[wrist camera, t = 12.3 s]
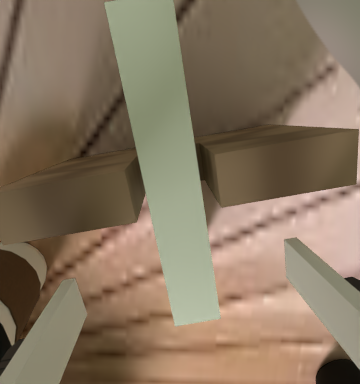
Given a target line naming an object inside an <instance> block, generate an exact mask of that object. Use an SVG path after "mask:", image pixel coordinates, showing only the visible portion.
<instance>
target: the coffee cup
mask: <svg viewBox="0 0 360 384" xmlns="http://www.w3.org/2000/svg"><path fill="white" fill-rule="evenodd" d="M46 272H47V265H46V262H45V259H44V256H43V255H42V254H41V253H40V252H39V251H38V249H37V248H35V247H33V246H31V245H30V244H28V243H25V242H21V243H15V244H9V245H3V244H2V242H1V243H0V362H1V359H2V358H3V356H4V355H5V353H6V352H7V350H8V349H9V348H10V347H11V346H12V345H14V344H15V343H16V342H17V341H18V340H19V338H20V336H21V334H22V332H23V330H24V328H25V326H26V324H27V321H28V319H29V317H30V315H31V313H32V311H33V309H34V307H35V305H36V303H37V301H38V298H39V296H40V290H41V288H42V286H43V284H44V282H45V280H46Z"/></svg>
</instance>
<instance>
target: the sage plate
mask: <svg viewBox="0 0 360 384" xmlns="http://www.w3.org/2000/svg"><path fill="white" fill-rule="evenodd" d="M104 5H105V9H106V14H107V18H108V23H109V27H110V32H111V37H112V41H113V46H114V50H115V55H116V59H117V64H118V68H119V73H120V78H121V82H122V87H123V91H124V96H125V100H126V105H127V110H128V114H129V119H130V123H131V128H132V132H133V137H134V141H135V146H136V151H137V155H138V160H139V164H140V169H141V173H142V178H143V182H144V187H145V192H146V196H147V201H148V205H149V210H150V214H151V219H152V223H153V228H154V233H155V237H156V242H157V246H158V251H159V255H160V260H161V265H162V269H163V274H164V278H165V283H166V287H167V292H168V296H169V301H170V306H171V310H172V315H173V319H174V324H175V326H180V325H186V324H192V323H198V322H204V321H210V320H215V319H221V317H220V311H219V304H218V297H217V290H216V284H215V277H214V270H213V264H212V257H211V250H210V243H209V237H208V230H207V223H206V216H205V210H204V203H203V196H202V190H201V183H200V176H199V169H198V163H197V156H196V149H195V142H194V136H193V129H192V122H191V116H190V109H189V102H188V95H187V89H186V82H185V75H184V68H183V62H182V55H181V48H180V42H179V35H178V28H177V21H176V15H175V8H174V1H173V0H115V1H109V2H104Z"/></svg>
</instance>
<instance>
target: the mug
mask: <svg viewBox="0 0 360 384" xmlns="http://www.w3.org/2000/svg"><path fill="white" fill-rule="evenodd" d="M316 384H360V370H359V368H358V367H357V366H356V365H355V363H354V362H353V361H350V360H335V361H332V362H330V363H328V364H326V365H325V366H323V367H322V368H321V369H320V371H319V372H318V374H317V377H316Z"/></svg>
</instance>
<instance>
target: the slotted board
mask: <svg viewBox="0 0 360 384" xmlns="http://www.w3.org/2000/svg"><path fill="white" fill-rule="evenodd" d="M358 136H359V129H343V128H324V127H305V126H286V125H263V126H257V127H252V128H246V129H240V130H235V131H229V132H223V133H218V134H212V135H206V136H200V137H195V138H194V142H195V149H196V156H197V163H198V169H199V176H200V181H202V180H205V181H206V183H207V184H208V186H209V188H210V189H211V191H212V193H213V194H214V196H215V198H216V200H217V201H218V203H219V205H220V206H221V208H223V207H228V206H234V205H240V204H246V203H251V202H257V201H263V200H269V199H274V198H280V197H286V196H292V195H297V194H303V193H309V192H315V191H320V190H326V189H332V188H338V187H344V186H349V185H355V184H356V180H357V158H358ZM145 194H146V192H145V187H144V182H143V178H142V173H141V169H140V164H139V160H138V155H137V151H136V148H132V149H126V150H121V151H115V152H109V153H103V154H98V155H92V156H86V157H81V158H75V159H70V160H67V161H65V162H62V163H60V164H57V165H55V166H53V167H50V168H48V169H45V170H43V171H40V172H38V173H35V174H33V175H30V176H28V177H25V178H23V179H21V180H18V181H16V182H13V183H11V184H8V185H6V186H3V187H1V188H0V240H1V242H2V244H3V245H9V244H15V243H21V242H27V241H32V240H38V239H44V238H50V237H55V236H61V235H67V234H73V233H78V232H84V231H90V230H96V229H101V228H107V227H113V226H119V225H125V224H130V223H136V222H137V219H138V216H139V213H140V210H141V207H142V203H143V200H144V197H145Z"/></svg>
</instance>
